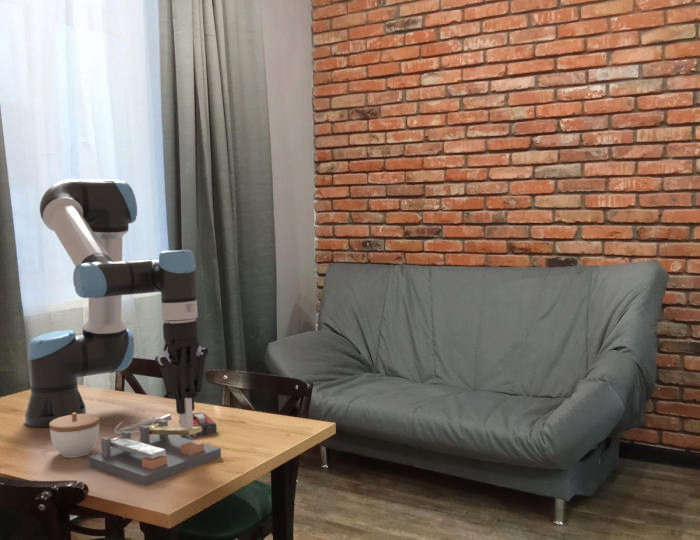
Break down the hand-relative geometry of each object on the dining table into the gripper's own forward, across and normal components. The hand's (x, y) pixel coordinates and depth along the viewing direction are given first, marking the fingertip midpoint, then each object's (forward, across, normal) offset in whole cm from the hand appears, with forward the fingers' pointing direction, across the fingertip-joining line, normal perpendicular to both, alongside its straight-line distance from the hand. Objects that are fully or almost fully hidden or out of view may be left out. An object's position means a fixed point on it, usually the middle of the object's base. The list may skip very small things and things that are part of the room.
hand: (186, 426), depth 151 cm
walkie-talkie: (+7, +14, +13) cm, 20 cm away
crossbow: (+7, +10, +30) cm, 33 cm away
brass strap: (+2, 0, +5) cm, 6 cm away
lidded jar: (+7, -12, +25) cm, 29 cm away
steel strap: (+3, -10, +5) cm, 12 cm away
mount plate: (+7, -5, +5) cm, 10 cm away
